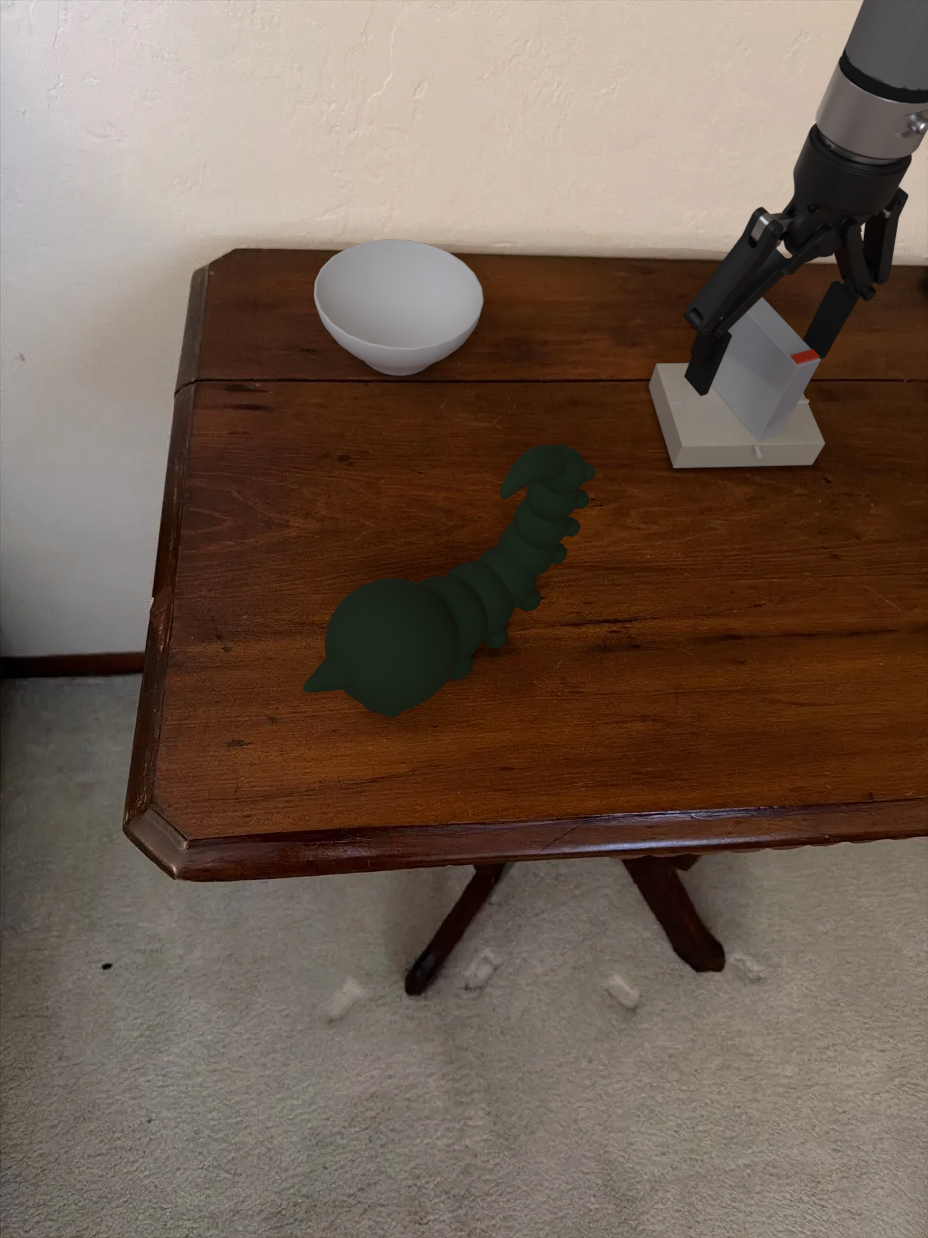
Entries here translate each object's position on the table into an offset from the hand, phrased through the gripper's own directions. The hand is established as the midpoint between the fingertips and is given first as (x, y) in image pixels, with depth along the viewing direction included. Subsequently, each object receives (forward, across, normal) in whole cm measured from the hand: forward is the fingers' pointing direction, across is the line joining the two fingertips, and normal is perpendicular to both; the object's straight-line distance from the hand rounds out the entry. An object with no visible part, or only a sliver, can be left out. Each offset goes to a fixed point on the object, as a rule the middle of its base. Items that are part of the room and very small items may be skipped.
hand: (755, 367), depth 81 cm
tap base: (+7, 0, 0) cm, 7 cm away
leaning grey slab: (+4, 0, 0) cm, 4 cm away
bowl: (+8, -26, +21) cm, 35 cm away
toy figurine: (+8, -37, -12) cm, 40 cm away
